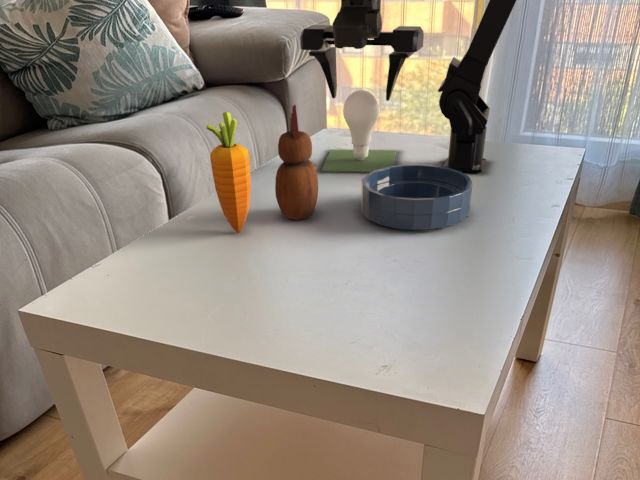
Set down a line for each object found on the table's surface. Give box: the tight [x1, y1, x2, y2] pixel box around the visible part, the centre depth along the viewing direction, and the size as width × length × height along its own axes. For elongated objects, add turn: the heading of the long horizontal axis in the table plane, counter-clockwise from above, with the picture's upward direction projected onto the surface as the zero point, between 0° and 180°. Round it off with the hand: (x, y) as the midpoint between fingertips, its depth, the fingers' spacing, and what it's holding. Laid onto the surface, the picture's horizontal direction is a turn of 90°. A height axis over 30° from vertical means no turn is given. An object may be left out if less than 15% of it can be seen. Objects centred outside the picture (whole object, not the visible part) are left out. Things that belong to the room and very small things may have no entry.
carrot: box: [205, 111, 252, 234], centre depth 83 cm, size 5×5×15 cm
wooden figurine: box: [274, 104, 319, 221], centre depth 87 cm, size 7×6×15 cm
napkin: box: [321, 149, 397, 174], centre depth 111 cm, size 12×12×1 cm
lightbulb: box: [342, 89, 381, 160], centre depth 107 cm, size 6×6×11 cm
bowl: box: [360, 163, 473, 230], centre depth 90 cm, size 15×15×4 cm
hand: (360, 99), depth 105 cm, fingers open, 9 cm apart
